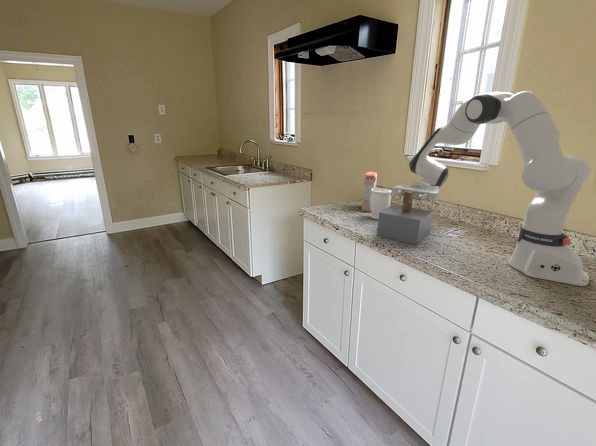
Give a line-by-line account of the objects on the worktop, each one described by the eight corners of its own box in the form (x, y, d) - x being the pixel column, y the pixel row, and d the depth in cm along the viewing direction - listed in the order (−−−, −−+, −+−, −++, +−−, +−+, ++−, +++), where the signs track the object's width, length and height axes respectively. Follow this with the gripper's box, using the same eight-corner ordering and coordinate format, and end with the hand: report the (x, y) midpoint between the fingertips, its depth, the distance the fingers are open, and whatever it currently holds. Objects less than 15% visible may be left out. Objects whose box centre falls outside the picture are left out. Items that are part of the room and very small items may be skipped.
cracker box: (372, 212, 178) (375, 175, 172) (361, 211, 180) (364, 174, 174) (374, 206, 191) (377, 171, 184) (364, 205, 193) (367, 171, 186)
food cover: (429, 233, 146) (436, 191, 140) (416, 245, 132) (423, 198, 126) (392, 225, 156) (396, 186, 150) (376, 235, 143) (381, 192, 137)
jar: (364, 216, 170) (366, 189, 166) (376, 213, 177) (379, 186, 172) (381, 221, 162) (384, 192, 158) (392, 218, 169) (396, 190, 164)
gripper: (398, 181, 156) (387, 185, 145) (442, 187, 144) (434, 192, 134) (397, 193, 158) (386, 198, 147) (440, 200, 146) (431, 206, 136)
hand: (409, 195), depth 140 cm, fingers open, 8 cm apart
